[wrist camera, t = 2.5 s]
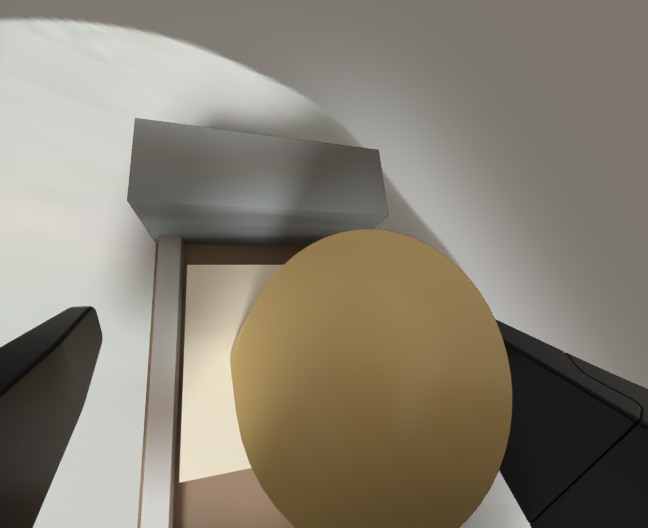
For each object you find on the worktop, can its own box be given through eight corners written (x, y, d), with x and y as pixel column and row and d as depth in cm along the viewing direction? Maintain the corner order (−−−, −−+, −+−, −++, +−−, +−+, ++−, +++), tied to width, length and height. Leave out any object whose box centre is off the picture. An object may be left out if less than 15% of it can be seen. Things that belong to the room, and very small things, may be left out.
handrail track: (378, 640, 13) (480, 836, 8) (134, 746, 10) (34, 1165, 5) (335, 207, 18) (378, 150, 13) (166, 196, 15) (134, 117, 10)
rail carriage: (340, 434, 13) (704, 706, 3) (186, 462, 11) (-169, 1411, 1) (326, 274, 14) (527, 118, 5) (192, 275, 13) (73, 28, 3)
